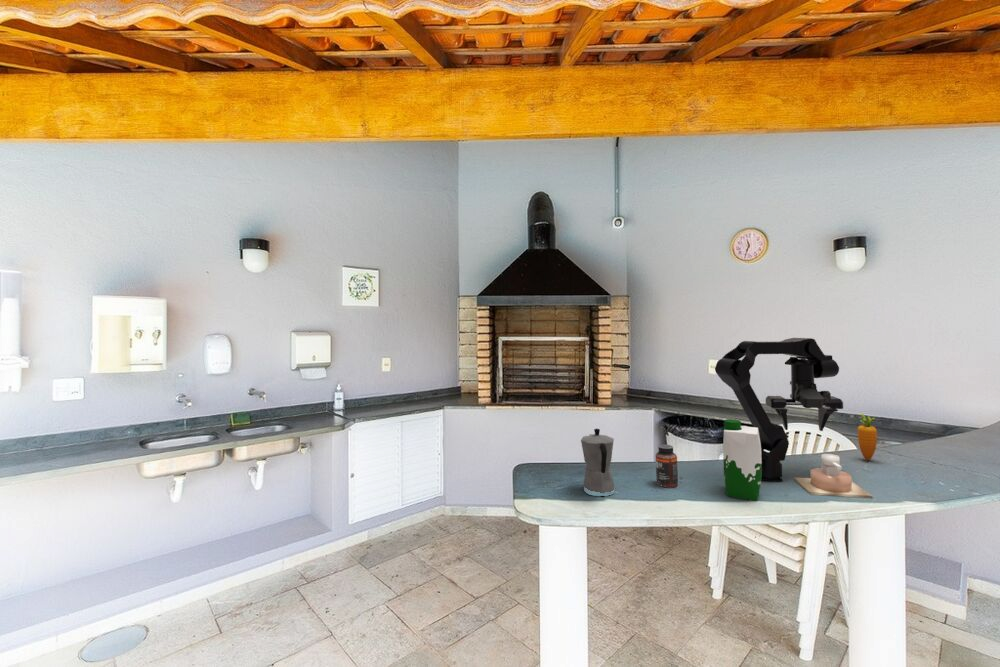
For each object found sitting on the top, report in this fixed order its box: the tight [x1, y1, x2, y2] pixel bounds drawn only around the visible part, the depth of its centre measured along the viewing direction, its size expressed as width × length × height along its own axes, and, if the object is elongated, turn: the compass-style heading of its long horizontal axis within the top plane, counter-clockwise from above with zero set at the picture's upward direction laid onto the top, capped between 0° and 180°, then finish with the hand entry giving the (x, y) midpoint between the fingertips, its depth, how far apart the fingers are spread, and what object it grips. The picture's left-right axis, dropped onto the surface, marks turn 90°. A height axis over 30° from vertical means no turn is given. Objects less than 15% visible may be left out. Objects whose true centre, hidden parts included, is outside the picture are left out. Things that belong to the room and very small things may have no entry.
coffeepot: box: [580, 428, 616, 493], centre depth 122 cm, size 15×9×18 cm, turn 0°
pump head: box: [820, 453, 843, 470], centre depth 118 cm, size 4×7×5 cm, turn 165°
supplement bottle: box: [655, 444, 679, 488], centre depth 126 cm, size 6×6×11 cm
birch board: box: [793, 476, 873, 499], centre depth 119 cm, size 14×11×1 cm
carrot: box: [857, 413, 878, 462], centre depth 139 cm, size 5×5×15 cm
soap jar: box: [810, 463, 853, 493], centre depth 119 cm, size 9×9×6 cm
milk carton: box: [722, 418, 762, 502], centre depth 117 cm, size 9×9×20 cm
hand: (803, 430), depth 131 cm, fingers open, 9 cm apart
